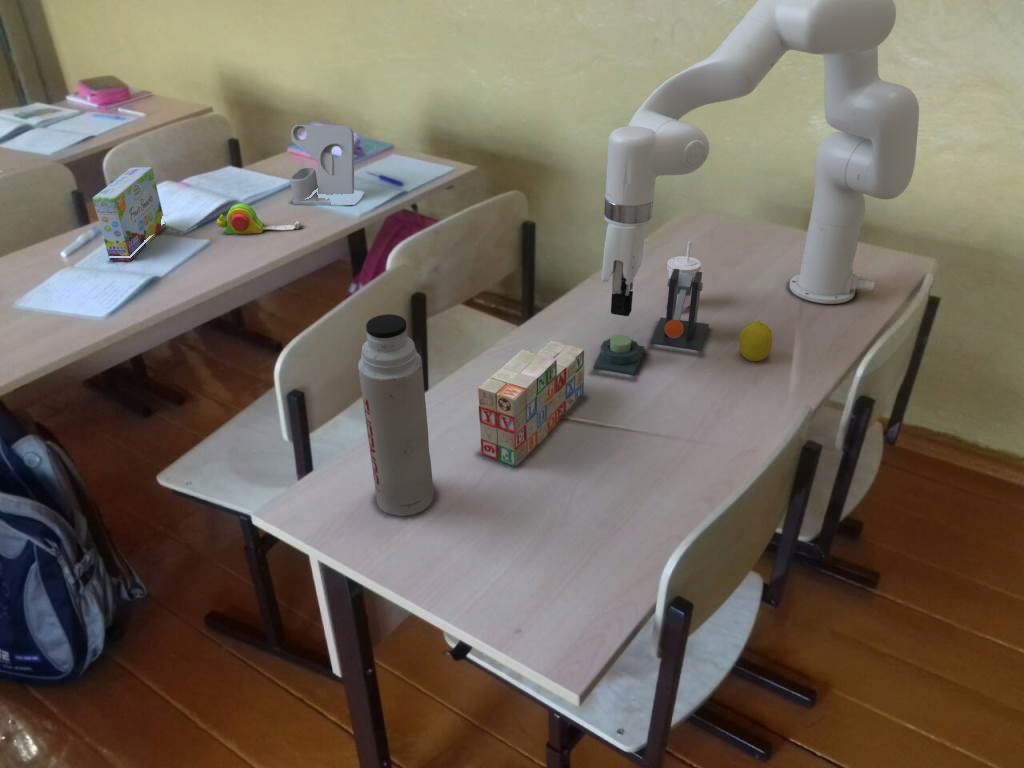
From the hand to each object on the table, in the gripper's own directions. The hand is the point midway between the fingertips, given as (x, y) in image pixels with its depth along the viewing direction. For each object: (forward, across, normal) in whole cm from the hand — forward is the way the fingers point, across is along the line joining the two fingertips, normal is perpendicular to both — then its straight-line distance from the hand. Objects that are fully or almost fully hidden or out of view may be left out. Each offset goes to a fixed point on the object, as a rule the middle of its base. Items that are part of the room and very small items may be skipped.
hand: (620, 312), depth 139 cm
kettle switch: (+3, -8, +9) cm, 12 cm away
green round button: (+7, 0, 0) cm, 7 cm away
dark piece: (+10, 0, 0) cm, 10 cm away
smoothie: (+10, -24, +7) cm, 27 cm away
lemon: (+10, -8, +22) cm, 26 cm away
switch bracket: (+10, -12, +9) cm, 18 cm away
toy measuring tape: (+11, -34, -96) cm, 103 cm away
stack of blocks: (+11, +22, -8) cm, 25 cm away
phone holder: (+11, -59, -91) cm, 109 cm away
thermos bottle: (+11, +44, -20) cm, 49 cm away
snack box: (+11, -19, -119) cm, 121 cm away
